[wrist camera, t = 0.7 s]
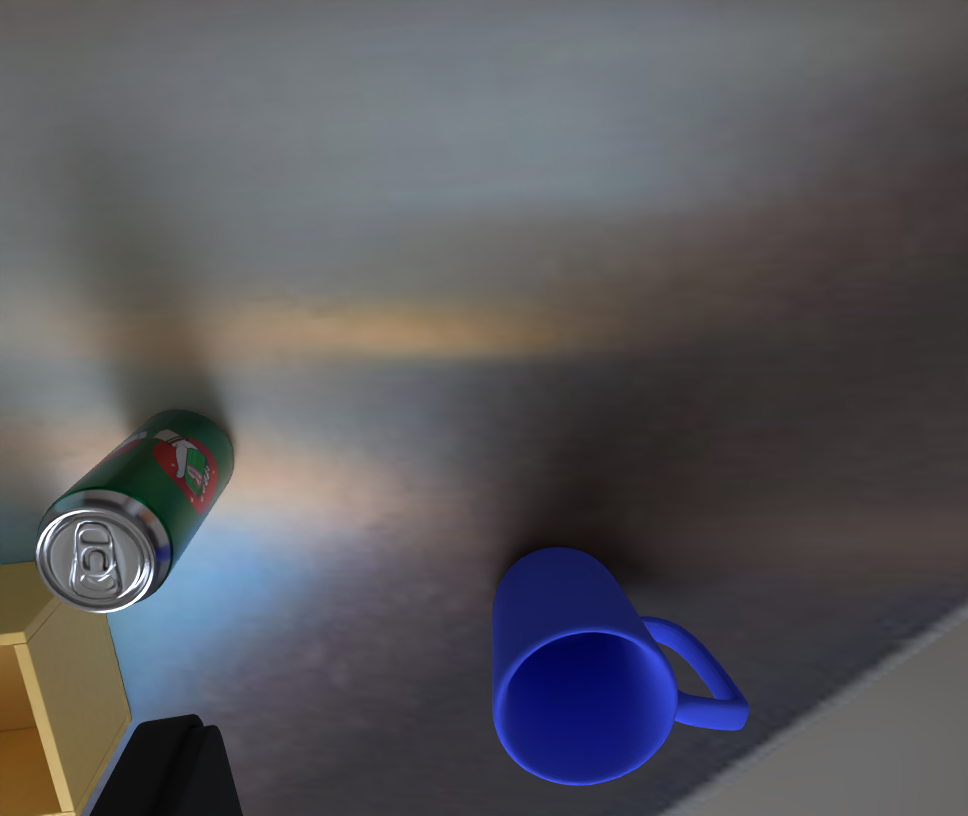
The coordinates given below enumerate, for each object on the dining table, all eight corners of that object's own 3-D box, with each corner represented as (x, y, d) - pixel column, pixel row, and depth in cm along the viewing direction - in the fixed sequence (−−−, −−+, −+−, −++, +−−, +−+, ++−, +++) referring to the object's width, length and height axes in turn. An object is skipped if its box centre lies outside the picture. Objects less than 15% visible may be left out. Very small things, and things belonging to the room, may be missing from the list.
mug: (669, 679, 47) (731, 808, 38) (465, 648, 46) (475, 774, 36) (709, 552, 45) (785, 654, 36) (496, 515, 44) (516, 612, 34)
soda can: (137, 497, 42) (27, 620, 31) (133, 403, 41) (17, 494, 29) (237, 502, 43) (166, 625, 31) (236, 409, 41) (162, 501, 30)
